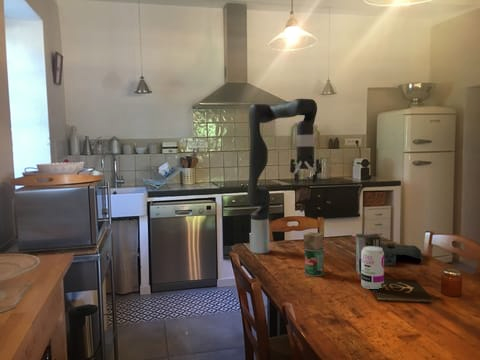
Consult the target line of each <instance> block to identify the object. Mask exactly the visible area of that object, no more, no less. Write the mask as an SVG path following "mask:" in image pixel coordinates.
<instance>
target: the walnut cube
mask: <svg viewBox="0 0 480 360" xmlns="http://www.w3.org/2000/svg"><path fill="white" fill-rule="evenodd" d="M321 248H323V249H324V233H320V232H315V231H314V232H313V231H310V232H307V233H304V234H303V249H304V250H305V249H309V250H316V251H317V250H319V249H321Z"/></svg>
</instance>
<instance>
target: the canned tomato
mask: <svg viewBox="0 0 480 360" xmlns="http://www.w3.org/2000/svg"><path fill="white" fill-rule="evenodd" d="M324 257H325V256H324V247H323V248H321V249H319V250H317V251H316V250H309V249H304V273H305V275H306V276H309V277H321V276H323V275H324V274H325V272H324V271H325V267H324V263H325V261H324Z"/></svg>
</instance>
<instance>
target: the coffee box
mask: <svg viewBox="0 0 480 360" xmlns="http://www.w3.org/2000/svg"><path fill="white" fill-rule="evenodd" d="M355 243H356V244H355V254H356V255H355V260H356V261H355V265H356V266H355V267H356V269H355V270H356V272H357V274H358V275H359V276H361V252H362V250H363V247H366V246H376V247H380V244H381V236H380V235H379V234H378V233H356V235H355Z"/></svg>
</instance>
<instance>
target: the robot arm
mask: <svg viewBox="0 0 480 360" xmlns="http://www.w3.org/2000/svg"><path fill="white" fill-rule="evenodd" d="M317 113H318V105H317V102H316V101H315V100H314V99H311V98H295V99H294V100H291V101H285V102H281V103H279V104H278V105H271V104H267V103H266V104H265V103H263V104H262V103H253V104H251V106H250V107H249V109H248V124H249V155H248V158H249V159H248V162H249V163H248V164H249V165H248V166H249V167H248V168H249V169H248V170H249V171H248V184H247V193H246V195H247V198H246V201H247V204H248V205H249V206H250V207H259V208H258V209H256V210H255V211H252V212H251V214H250V230H251V231H250V232H249V251H250V252H251V253H254V254H267V253H269V252H270V221H269V220H270V203H271V202H270V201H271V195H270V194H271V193H270V190H269V189H268V187H265V186H264V187H257V185H258V182H259V178H260V176H261V175H262V174H263V172H264V170H265V169H266V166H267V165H268V157H269V149H268V147H267V144H266V142H265V141H264V138H263V136H262V134H261V124H268V123H269V122H270V123H271V122H272V121H274V120H277V119H287V118H294V117H296V116H304V118H303V120H300V121H298V122H297V124H296V158H290V162H289V163H290V166H289V167H290V168H289V172H290V173H292V174H293V178H294V179H293V180H294V182H295V183H297V184H298V183H300V172H301V171H302V170H309V171H310V172H311V174H312V181H311V182H312V184H317V183H318V176H319V174H321V173H322V172H323V170H322V169H323V168H322V159H321V158H317V159H315V136H314V124H315V122H316V121H315V120H316V116H317ZM296 164H297V165H296ZM314 164H315V165H314Z"/></svg>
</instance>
